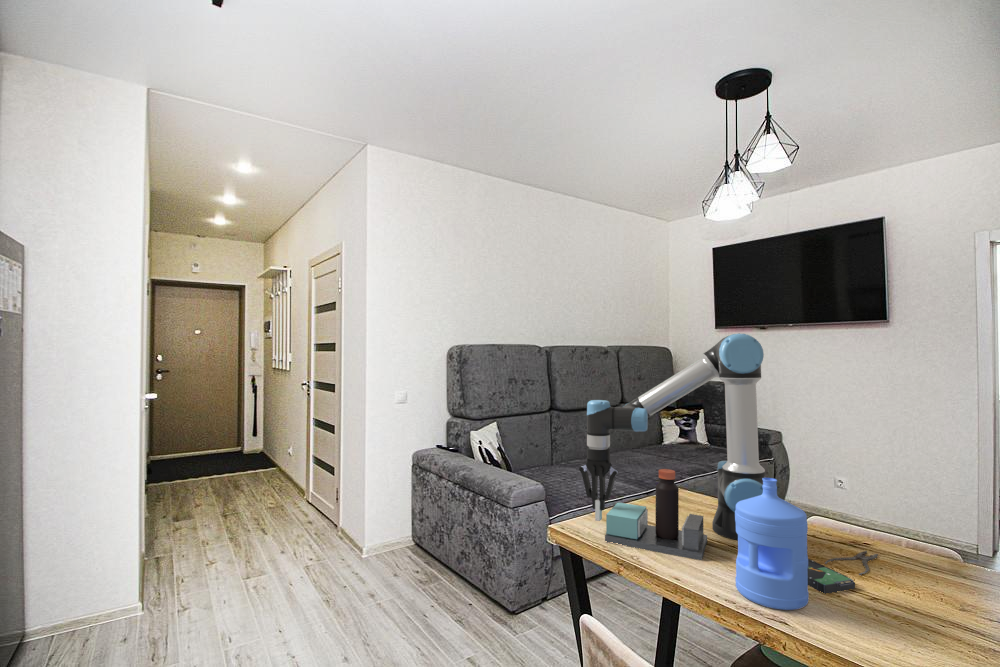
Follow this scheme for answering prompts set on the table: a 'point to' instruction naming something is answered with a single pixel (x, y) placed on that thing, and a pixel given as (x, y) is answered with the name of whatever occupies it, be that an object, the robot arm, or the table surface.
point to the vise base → (670, 540)
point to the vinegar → (667, 505)
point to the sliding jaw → (626, 520)
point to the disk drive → (827, 579)
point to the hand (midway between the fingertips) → (598, 519)
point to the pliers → (857, 557)
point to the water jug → (772, 550)
